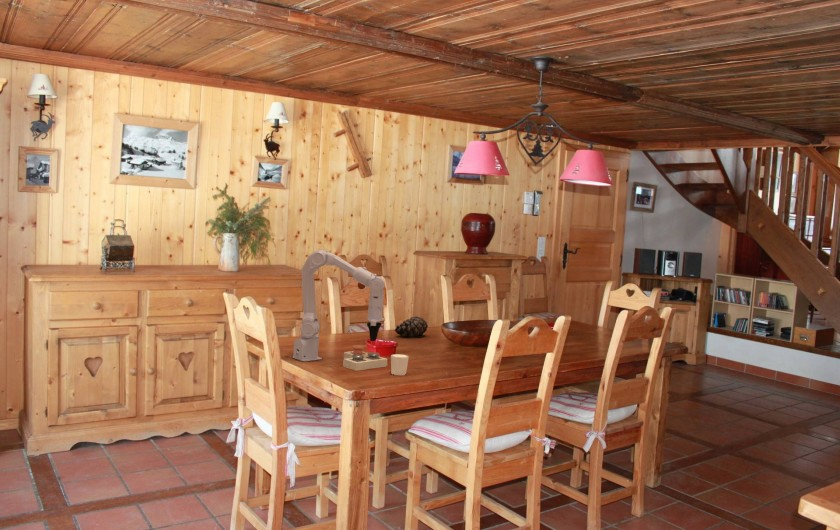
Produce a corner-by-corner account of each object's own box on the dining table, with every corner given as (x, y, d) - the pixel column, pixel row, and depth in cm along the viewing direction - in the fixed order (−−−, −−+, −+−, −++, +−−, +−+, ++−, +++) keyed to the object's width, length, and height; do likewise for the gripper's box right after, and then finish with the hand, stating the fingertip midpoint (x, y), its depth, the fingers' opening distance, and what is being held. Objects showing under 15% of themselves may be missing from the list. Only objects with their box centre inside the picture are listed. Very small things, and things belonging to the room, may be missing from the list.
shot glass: (407, 372, 278) (408, 354, 277) (407, 376, 271) (409, 358, 270) (389, 371, 277) (391, 353, 277) (389, 375, 270) (390, 357, 270)
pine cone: (391, 336, 349) (392, 316, 349) (414, 333, 363) (416, 314, 362) (407, 340, 343) (409, 320, 342) (430, 337, 357) (432, 317, 356)
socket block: (356, 370, 273) (356, 363, 273) (327, 361, 285) (328, 354, 285) (386, 366, 285) (387, 359, 284) (358, 357, 297) (359, 350, 297)
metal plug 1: (356, 368, 276) (357, 357, 275) (349, 365, 279) (349, 354, 278) (365, 367, 279) (366, 356, 278) (358, 364, 282) (358, 353, 282)
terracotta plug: (356, 358, 288) (357, 347, 287) (349, 356, 291) (350, 345, 291) (365, 357, 291) (366, 346, 291) (358, 355, 294) (359, 344, 294)
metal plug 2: (372, 366, 281) (373, 355, 281) (364, 363, 284) (365, 352, 284) (381, 365, 284) (381, 354, 284) (373, 362, 288) (374, 351, 287)
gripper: (384, 310, 278) (381, 345, 279) (386, 305, 292) (384, 338, 293) (366, 309, 278) (363, 343, 279) (369, 304, 292) (367, 336, 293)
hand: (373, 340), depth 286 cm, fingers closed
